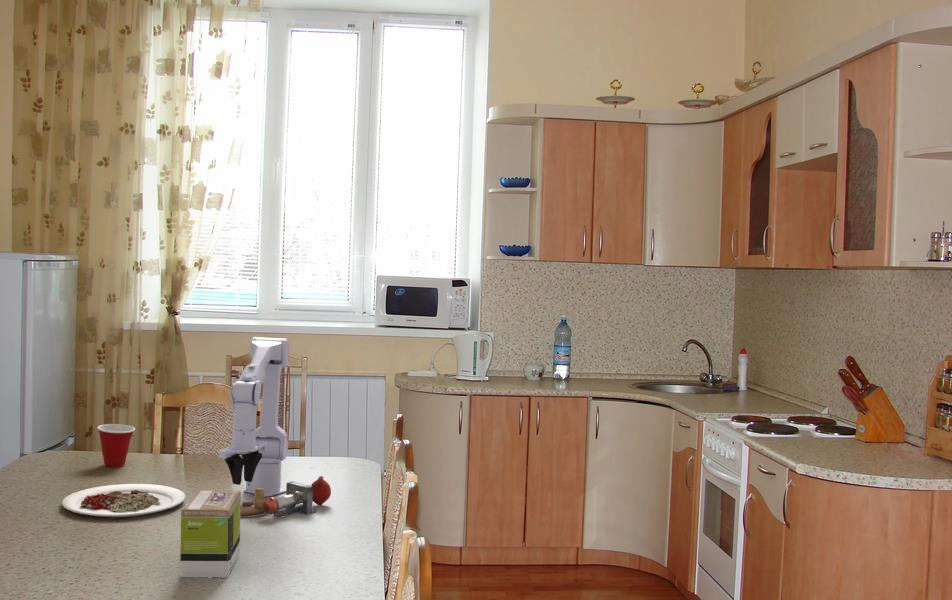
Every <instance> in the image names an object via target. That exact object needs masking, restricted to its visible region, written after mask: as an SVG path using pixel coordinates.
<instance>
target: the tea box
mask: <svg viewBox="0 0 952 600" xmlns="http://www.w3.org/2000/svg"><path fill="white" fill-rule="evenodd" d="M241 497H242V496H241V491H240V490H196V491H195V493H194V494H193V495H192V496H191V497H190V499H189V500H188V501H187V502H186V503H185V505H184V506H183V507H182V509H180V510H181V511H180V551H179V552H180V555H179V557H180V559H179V560H180V561H179V563H180V565H179V567H180V568H179V571H180V572H179V575H180V578H181V577H216V578H215V579H225V578H228V577H229V576H230V573H231V571H232V569H233V568H234V566H235V564H236V563H237V560H238V558H239V556H240V554H241V518H240V503H241V500H242V499H241ZM217 577H218V578H217Z"/></svg>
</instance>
